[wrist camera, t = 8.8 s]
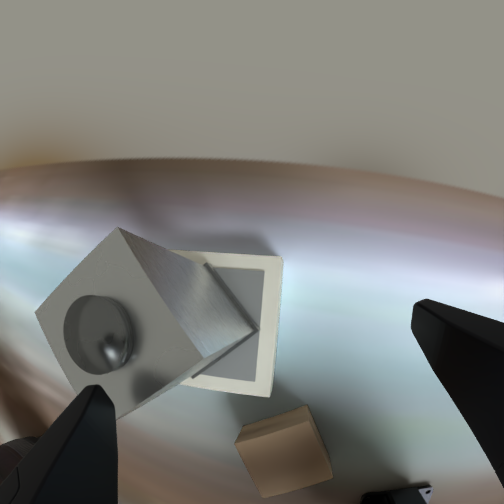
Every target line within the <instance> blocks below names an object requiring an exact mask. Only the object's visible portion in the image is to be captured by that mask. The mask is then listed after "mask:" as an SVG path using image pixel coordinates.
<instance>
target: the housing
mask: <svg viewBox="0 0 504 504" xmlns="http://www.w3.org/2000/svg"><path fill="white" fill-rule="evenodd" d="M35 314H36V316H37V319H38V321H39V323H40V326H41V328H42V330H43V332H44V334H45V336H46V338H47V341H48V343H49V345H50V347H51V349H52V351H53V353H54V355H55V357H56V358H57V360H58V362H59V364H60V366H61V368H62V370H63V372H64V373H65V375H66V377H67V379H68V380H69V382H70V384H71V386H72V387H73V389H74V391H75V392H76V394H77V395H78V394H79V393H80V392H81V391H82V390H83V389H84V388H85V387H86V386H87V385H94V384H99V385H100V386H102V388H103V389H104V390H105V392H106V393H107V395H108V396H109V397H110V399H111V400H112V402H113V403H114V406H115V412H116V420H118V419H120V418H122V417H123V416H125V415H127V414H129V413H130V412H132V411H134V410H136V409H137V408H139V407H141V406H143V405H144V404H146V403H148V402H150V401H151V400H153V399H155V398H156V397H158V396H160V395H161V394H163V393H165V392H166V391H168V390H170V389H171V388H173V387H175V386H176V385H178V384H179V383H181V382H183V381H184V380H186V379H188V378H189V377H191V378H192V379H194V378H195V377H197V376H198V375H200V374H201V373H203V372H204V371H205V370H207V369H208V368H210V367H211V366H212V365H214V364H215V363H217V362H218V361H219V360H221V359H222V358H224V357H225V356H226V355H228V354H229V353H230V352H232V351H233V350H234V349H236V348H237V347H239V346H240V345H241V344H243V343H244V342H245V341H247V340H248V339H249V338H251V337H252V336H253V335H255V334H256V333H257V332H259V331H260V330H261V329H260V328H259V326H258V325H257V324H256V322H255V321H254V320H253V319H252V317H251V316H250V315H249V313H248V312H247V311H246V310H245V308H244V307H243V306H242V304H241V303H240V302H239V300H238V299H237V298H236V297H235V295H234V294H233V293H232V291H231V290H230V289H229V287H228V286H227V285H226V283H225V282H224V281H223V279H222V278H221V277H220V275H219V274H218V273H217V271H216V270H215V269H214V267H213V266H212V265H211V264H210V263H208V262H206V263H205V264H204V265H201V264H199V263H197V262H194V261H192V260H190V259H187V258H185V257H183V256H181V255H178V254H176V253H174V252H172V251H169V250H167V249H165V248H163V247H160V246H158V245H156V244H154V243H152V242H149V241H147V240H145V239H143V238H141V237H138V236H136V235H134V234H132V233H130V232H127V231H125V230H123V229H121V228H119V227H117V228H115V229H114V230H113V231H112V232H111V233H110V234H109V235H108V236H107V237H106V238H105V239H104V240H103V241H102V242H101V243H100V244H99V245H98V246H97V247H96V248H95V249H94V250H93V251H92V252H91V253H90V254H89V255H88V256H87V257H86V258H85V259H84V260H83V261H82V262H81V263H80V264H79V265H78V266H77V267H76V268H75V269H74V270H73V271H72V272H71V273H70V274H69V275H68V276H67V277H66V278H65V279H64V280H63V281H62V282H61V284H60V285H59V286H58V287H57V288H56V289H55V290H54V291H53V292H52V293H51V294H50V296H49V297H48V298H47V299H46V300H45V301H44V302H43V303H42V305H41V306H40V307H39V308H38V309H37V310H36V311H35Z"/></svg>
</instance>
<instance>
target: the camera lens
mask: <svg viewBox="0 0 504 504" xmlns="http://www.w3.org/2000/svg"><path fill="white" fill-rule="evenodd" d="M40 438H41V437H37V438H35V437H25V438H21V439H15V440H12V441H9V442H7V443H4V444H2V445H0V485H1V484H2V482H3V481H4V480H5V479H6V478H7V477H8V475H9V474H10V473H11V472H12V471H13V469H14V468H15V467H16V466H18V464H19V462H20V461H21V460H22V459H23V458H24V456H25V455H26V454H27V453H28V452H29V450H30V449H31V448H32V447H33V446H34V445H35V443H36V442H37V441H38V440H39V439H40Z"/></svg>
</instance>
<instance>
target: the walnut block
mask: <svg viewBox="0 0 504 504" xmlns="http://www.w3.org/2000/svg"><path fill="white" fill-rule="evenodd" d="M234 444H235V446H236V448H237V450H238V452H239V454H240V456H241V458H242V460H243V462H244V464H245V466H246V468H247V470H248V472H249V474H250V476H251V478H252V480H253V481H254V483H255V485H256V487H257V489H258V491H259V492H260V494H261V496H262V498H267V497H271V496H275V495H279V494H283V493H287V492H291V491H294V490H298V489H301V488H305V487H308V486H311V485H314V484H317V483H321V482H324V481H326V480H329V479H332V478H333V474H332V468H331V463H330V457H329V455H328V452H327V450H326V448H325V445H324V443H323V441H322V438H321V436H320V434H319V431H318V429H317V426H316V424H315V422H314V419H313V417H312V415H311V412H310V410H309V407H308V405H304V406H302V407H299V408H296V409H294V410H291V411H288V412H285V413H282V414H279V415H276V416H274V417H270V418H267V419H264V420H261V421H258V422H255V423H252V424H248V425H245V426H243V427H242V429H241V431H240V433H239V435H238V437H237V439H236V441H235V443H234Z"/></svg>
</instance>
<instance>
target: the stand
mask: <svg viewBox="0 0 504 504" xmlns="http://www.w3.org/2000/svg"><path fill="white" fill-rule="evenodd" d="M167 250H168V249H167ZM169 251H172V252H174V253H176V254H178V255H181V256H183V257H185V258H187V259H190V260H192V261H194V262H197V263H199V264H201V265H204V264H205V263H206V262H208V263H210V264H211V265H212V266H213V267H214V269H215V270H216V271H217V273H218V274H219V275H220V277H221V278H222V279H223V281H224V282H225V283H226V285H227V286H228V287H229V289H230V290H231V291H232V293H233V294H234V295H235V297H236V298H237V299H238V300H239V302H240V303H241V304H242V306H243V307H244V308H245V310H246V311H247V312H248V313H249V315H250V316H251V317H252V319H253V320H254V321H255V322H256V324H257V325H258V326H259V328H260V329H261V330H260V331H259V332H257V333H256V334H255V335H253V336H252V337H251V338H249V339H248V340H247V341H245V342H244V343H243V344H241V345H240V346H239V347H237V348H236V349H234V350H233V351H232V352H230V353H229V354H228V355H226V356H225V357H224V358H222V359H221V360H219V361H218V362H217V363H215V364H214V365H212V366H211V367H210V368H208V369H207V370H205V371H204V372H203V373H201V374H200V375H198V376H197V377H195V378H194V379H192V378H191V377H189V378H188V379H186V380H184V381H183V382H181V383H179V384H182V385H187V386H192V387H198V388H204V389H210V390H216V391H222V392H229V393H236V394H244V395H252V396H261V397H270V394H271V391H272V388H273V380H274V370H275V359H276V349H277V338H278V326H279V314H280V302H281V290H282V276H283V263H284V262H283V259H282V257H281V256H264V255H248V254H232V253H216V252H200V251H184V250H169Z"/></svg>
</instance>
